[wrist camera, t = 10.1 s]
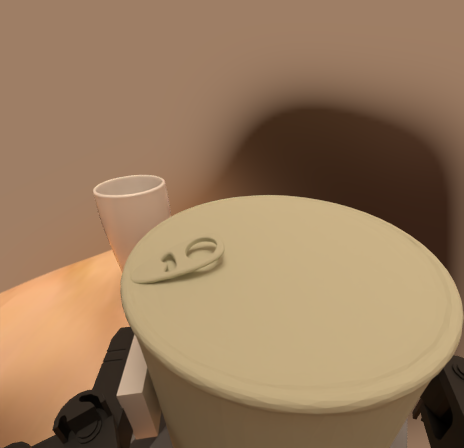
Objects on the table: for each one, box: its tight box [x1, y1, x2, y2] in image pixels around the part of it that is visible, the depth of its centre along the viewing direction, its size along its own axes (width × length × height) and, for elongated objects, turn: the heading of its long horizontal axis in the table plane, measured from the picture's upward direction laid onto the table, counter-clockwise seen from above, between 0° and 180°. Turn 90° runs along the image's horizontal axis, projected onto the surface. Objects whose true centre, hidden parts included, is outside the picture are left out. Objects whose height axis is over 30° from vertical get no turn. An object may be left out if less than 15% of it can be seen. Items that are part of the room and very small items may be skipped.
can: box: [121, 195, 463, 448], centre depth 10 cm, size 9×9×12 cm
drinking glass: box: [93, 175, 171, 273], centre depth 27 cm, size 7×7×15 cm
